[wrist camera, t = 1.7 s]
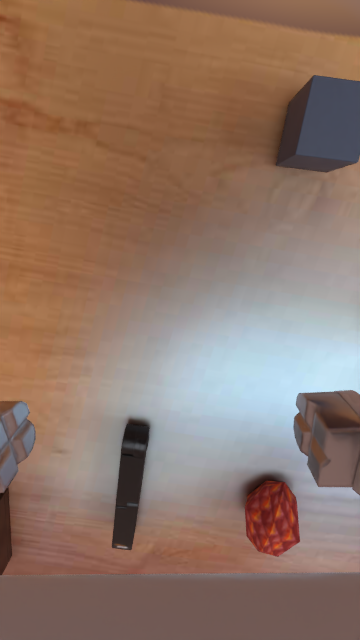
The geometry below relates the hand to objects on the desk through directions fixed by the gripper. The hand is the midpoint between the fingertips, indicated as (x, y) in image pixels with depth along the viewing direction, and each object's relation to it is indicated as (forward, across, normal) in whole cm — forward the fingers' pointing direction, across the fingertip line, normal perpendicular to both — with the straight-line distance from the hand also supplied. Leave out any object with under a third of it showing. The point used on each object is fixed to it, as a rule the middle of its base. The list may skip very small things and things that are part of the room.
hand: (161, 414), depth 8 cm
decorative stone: (+17, -9, +26) cm, 33 cm away
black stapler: (+17, +7, +23) cm, 30 cm away
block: (+17, -10, -10) cm, 22 cm away
